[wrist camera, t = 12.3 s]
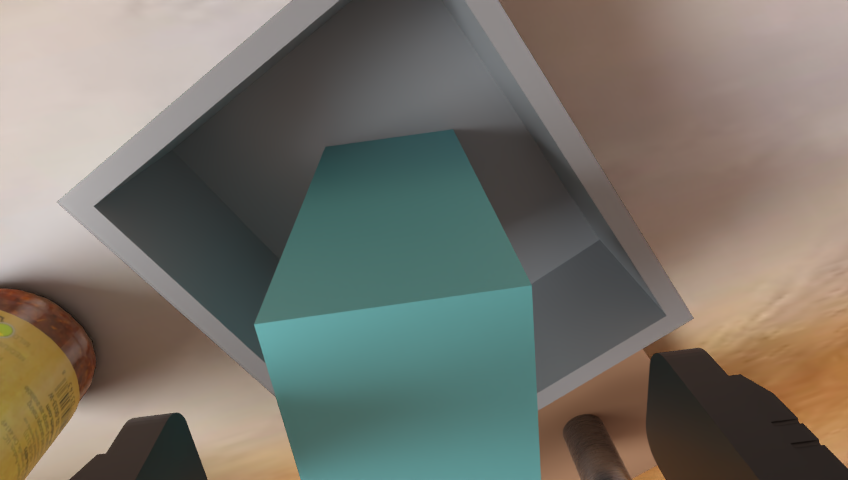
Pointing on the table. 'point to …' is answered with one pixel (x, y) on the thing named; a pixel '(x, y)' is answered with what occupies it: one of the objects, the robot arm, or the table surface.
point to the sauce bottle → (37, 377)
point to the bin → (365, 121)
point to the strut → (402, 322)
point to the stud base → (614, 404)
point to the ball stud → (593, 449)
